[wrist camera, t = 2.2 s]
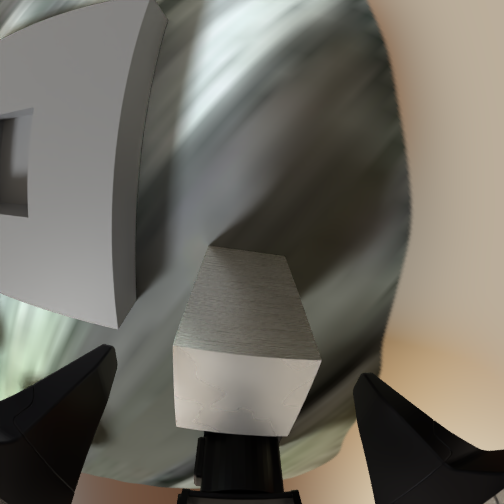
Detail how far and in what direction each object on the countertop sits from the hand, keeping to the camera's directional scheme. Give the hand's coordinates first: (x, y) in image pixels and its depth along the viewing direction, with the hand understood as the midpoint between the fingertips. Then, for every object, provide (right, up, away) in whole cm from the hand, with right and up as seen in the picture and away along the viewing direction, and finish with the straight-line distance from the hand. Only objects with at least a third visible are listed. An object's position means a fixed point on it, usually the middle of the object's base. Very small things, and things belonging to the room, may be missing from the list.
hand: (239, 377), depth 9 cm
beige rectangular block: (0, +2, +6) cm, 7 cm away
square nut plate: (-13, +10, +3) cm, 17 cm away
